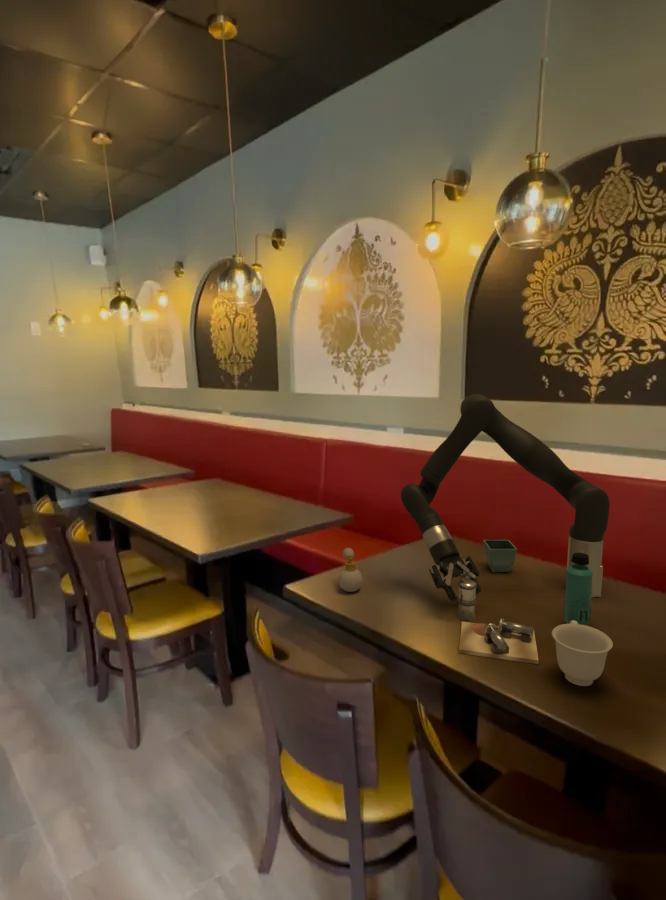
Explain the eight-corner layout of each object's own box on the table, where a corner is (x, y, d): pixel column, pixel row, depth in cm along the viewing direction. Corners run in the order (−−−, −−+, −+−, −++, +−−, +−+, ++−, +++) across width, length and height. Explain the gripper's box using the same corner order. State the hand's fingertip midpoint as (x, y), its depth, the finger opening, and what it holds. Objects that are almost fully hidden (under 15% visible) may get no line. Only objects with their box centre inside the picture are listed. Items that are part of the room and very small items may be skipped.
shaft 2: (498, 636, 132) (498, 621, 131) (500, 629, 135) (501, 615, 134) (531, 643, 128) (532, 628, 127) (533, 636, 131) (534, 622, 131)
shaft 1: (483, 637, 131) (483, 623, 131) (497, 636, 131) (497, 622, 131) (494, 655, 123) (495, 640, 123) (509, 654, 124) (510, 639, 123)
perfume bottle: (346, 597, 157) (345, 559, 155) (330, 585, 165) (330, 549, 163) (367, 591, 160) (367, 554, 158) (351, 580, 169) (350, 545, 167)
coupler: (475, 613, 145) (476, 580, 144) (475, 621, 141) (476, 587, 139) (458, 611, 147) (459, 578, 145) (457, 619, 142) (458, 585, 141)
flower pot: (516, 574, 171) (517, 548, 169) (489, 575, 171) (490, 549, 170) (507, 564, 180) (508, 539, 178) (482, 564, 180) (482, 539, 178)
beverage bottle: (578, 635, 133) (583, 561, 130) (556, 623, 139) (561, 552, 136) (595, 628, 136) (600, 556, 133) (573, 618, 142) (578, 548, 139)
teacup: (597, 659, 123) (600, 619, 121) (616, 699, 109) (620, 655, 107) (543, 653, 126) (545, 614, 124) (554, 691, 111) (557, 648, 110)
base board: (533, 633, 135) (533, 629, 134) (538, 664, 121) (538, 659, 121) (461, 624, 140) (462, 620, 139) (458, 653, 126) (459, 648, 126)
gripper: (426, 542, 145) (453, 597, 137) (465, 533, 152) (493, 585, 144) (414, 554, 151) (439, 607, 143) (452, 545, 157) (478, 596, 149)
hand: (466, 596), depth 143 cm, fingers open, 8 cm apart
